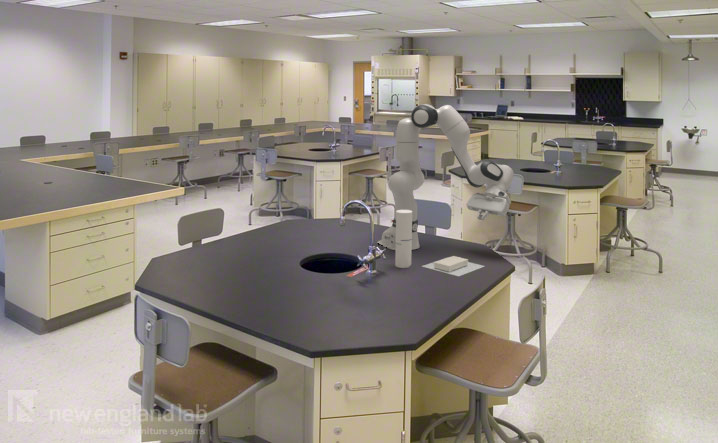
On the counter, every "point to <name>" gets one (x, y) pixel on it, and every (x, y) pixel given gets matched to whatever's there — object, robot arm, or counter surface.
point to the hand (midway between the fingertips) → (480, 219)
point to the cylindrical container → (403, 238)
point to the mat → (459, 271)
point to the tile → (451, 263)
